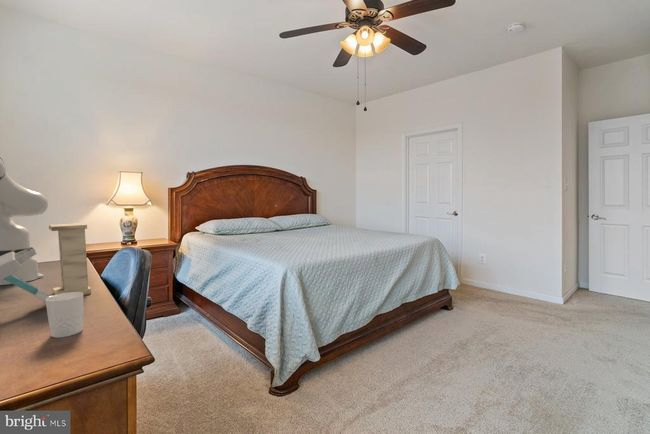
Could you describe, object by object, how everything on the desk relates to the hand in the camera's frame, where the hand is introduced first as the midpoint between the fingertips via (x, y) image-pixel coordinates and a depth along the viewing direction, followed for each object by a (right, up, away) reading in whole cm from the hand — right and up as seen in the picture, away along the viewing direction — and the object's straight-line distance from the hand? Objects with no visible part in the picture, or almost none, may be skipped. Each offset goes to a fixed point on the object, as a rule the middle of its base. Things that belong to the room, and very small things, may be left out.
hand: (34, 249), depth 105 cm
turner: (-2, -13, -1) cm, 13 cm away
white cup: (+24, -21, -17) cm, 36 cm away
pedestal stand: (-2, -18, +18) cm, 26 cm away
